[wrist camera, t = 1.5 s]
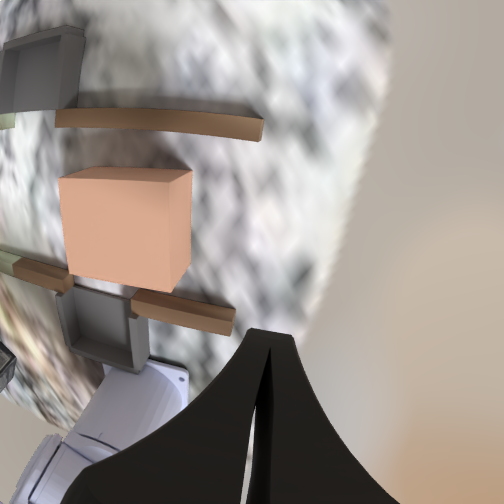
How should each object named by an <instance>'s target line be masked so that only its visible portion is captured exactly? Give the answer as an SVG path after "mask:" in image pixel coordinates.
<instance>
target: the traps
mask: <svg viewBox="0 0 504 504" xmlns="http://www.w3.org/2000/svg"><path fill="white" fill-rule="evenodd" d="M83 34H84V30H81V29H78V28H74V27H71V26H67V25H66V26H61V27H57V28H53V29H49V30H45V31H41V32H38V33H34V34H31V35H27V36H24V37H21V38H18V39H14V40H11V41H8V42H6V43H4V46H3V51H0V114H8V113H17V112H27V111H39V110H54V109H73V108H76V107H77V97H78V88H79V79H80V72H81V65H82V58H83V52H84V46H85V41H86V38H85V37H83ZM55 298H56V303H57V308H58V313H59V318H60V322H61V327H62V331H63V335H64V339H65V343H66V345H67V346H69V350H70V352H73V353H75V354H78V355H81V356H83V357H86V358H89V359H91V360H94V361H97V362H100V363H103V364H106V365H109V366H112V367H115V368H118V369H121V370H124V371H127V372H130V373H133V374H137V375H138V374H139V372H140V371H141V370H142V368H143V366H144V364H145V363H146V361H147V359H148V357H149V356H150V347H149V330H148V318H146V317H142V316H139V315H135V314H132V312H131V300H128V299H124V298H120V297H116V296H113V295H109V294H105V293H102V292H98V291H94V290H91V289H87V288H84V287H80V286H77V285H74V286H73V287H72V288H71V289H69V290H68V291H67V292H66V293H65V294H63V293H60V292H58V293H57V294H56V295H55Z"/></svg>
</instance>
